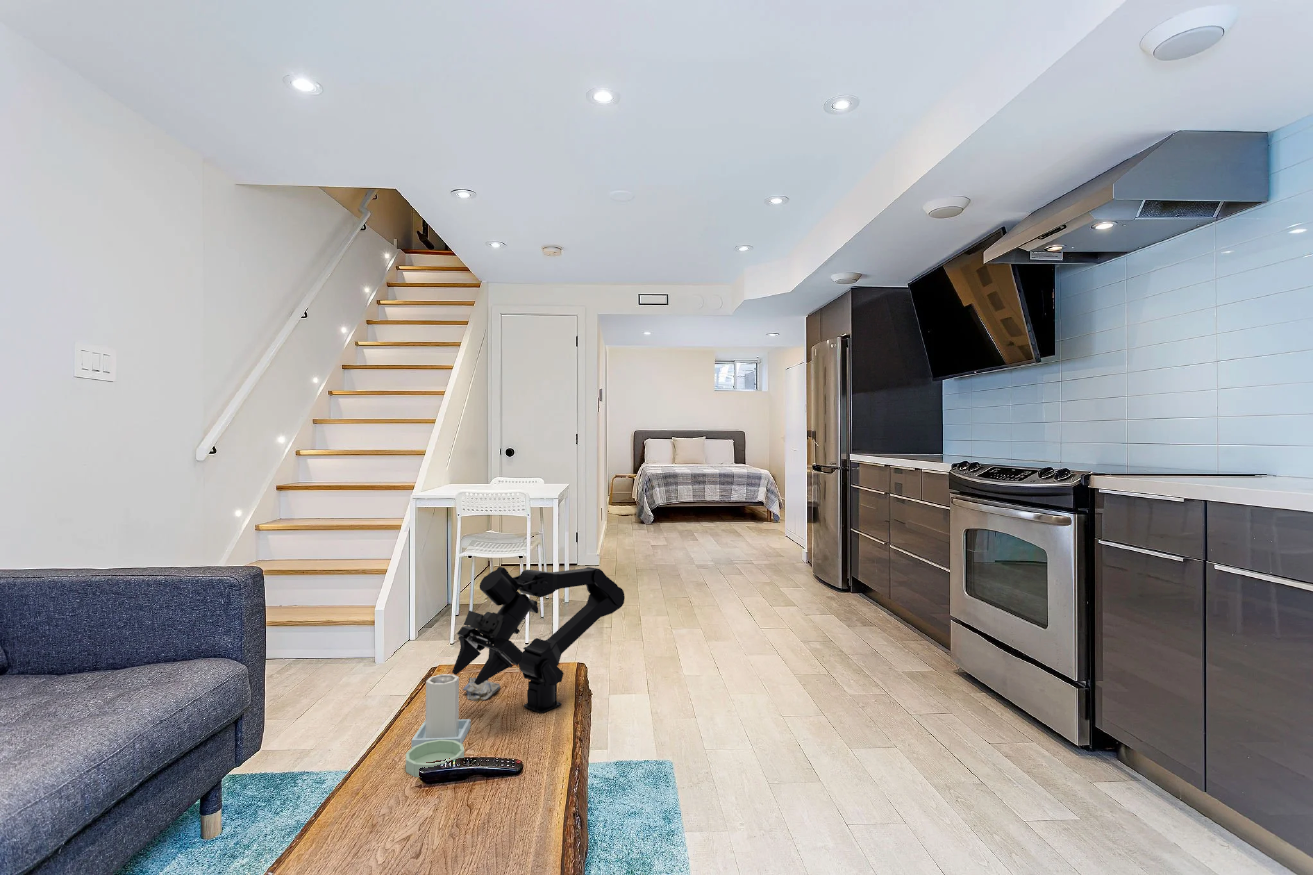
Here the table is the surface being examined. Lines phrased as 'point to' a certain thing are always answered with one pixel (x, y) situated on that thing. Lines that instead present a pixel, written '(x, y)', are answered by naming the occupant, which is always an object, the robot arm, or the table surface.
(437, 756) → the bowl
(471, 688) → the mineral specimen
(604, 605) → the robot arm
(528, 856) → the table surface
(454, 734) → the pebble cup
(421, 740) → the parts tray
